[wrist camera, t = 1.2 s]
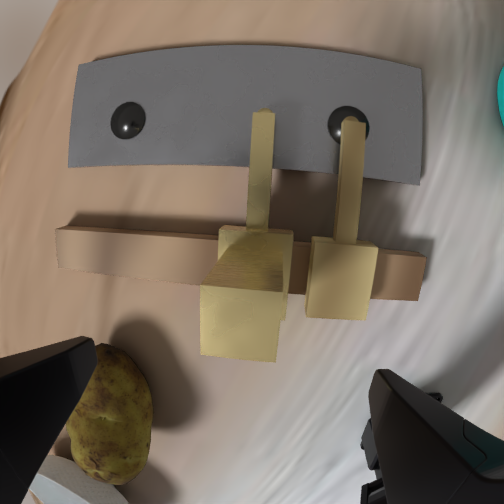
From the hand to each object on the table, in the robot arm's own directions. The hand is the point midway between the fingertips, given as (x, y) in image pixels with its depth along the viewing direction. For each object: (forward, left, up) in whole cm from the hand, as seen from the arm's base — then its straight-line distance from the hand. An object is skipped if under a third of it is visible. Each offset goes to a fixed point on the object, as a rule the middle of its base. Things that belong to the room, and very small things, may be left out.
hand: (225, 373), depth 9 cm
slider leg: (0, -4, -11) cm, 12 cm away
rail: (+2, -4, -12) cm, 13 cm away
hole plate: (+2, -10, -12) cm, 16 cm away
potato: (+11, +14, -13) cm, 22 cm away
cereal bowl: (+21, +34, -13) cm, 42 cm away
